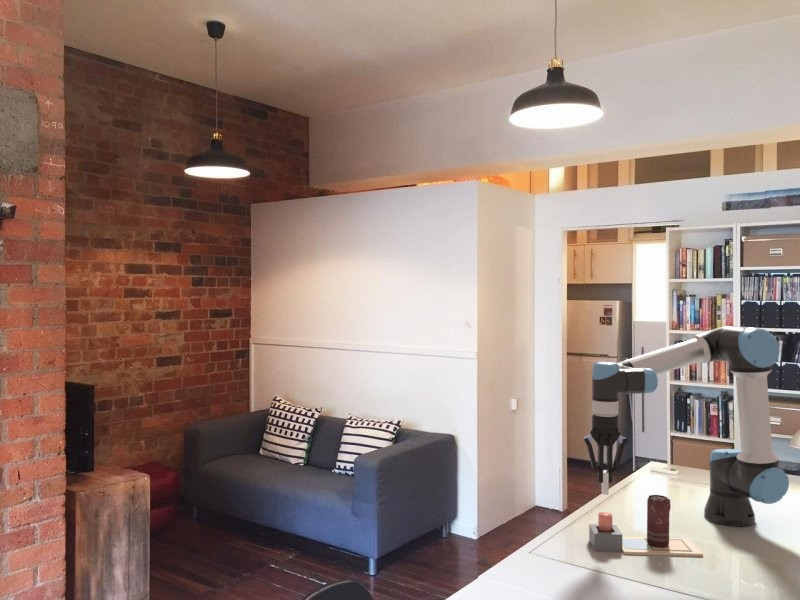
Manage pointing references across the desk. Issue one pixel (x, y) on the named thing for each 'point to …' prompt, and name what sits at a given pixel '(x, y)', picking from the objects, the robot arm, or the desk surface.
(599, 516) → the button
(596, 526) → the button housing
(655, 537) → the can
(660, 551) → the board
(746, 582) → the desk surface
